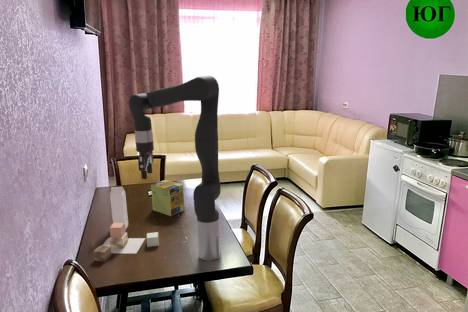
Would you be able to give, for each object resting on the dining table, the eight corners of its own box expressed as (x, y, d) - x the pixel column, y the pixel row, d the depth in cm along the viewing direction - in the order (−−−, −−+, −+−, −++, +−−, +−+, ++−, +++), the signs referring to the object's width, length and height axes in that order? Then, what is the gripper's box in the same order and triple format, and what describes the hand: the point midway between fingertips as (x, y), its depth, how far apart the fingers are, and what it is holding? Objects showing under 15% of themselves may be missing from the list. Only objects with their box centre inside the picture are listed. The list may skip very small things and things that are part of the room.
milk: (116, 225, 188) (112, 185, 183) (128, 225, 189) (124, 184, 183) (113, 231, 182) (108, 189, 177) (126, 230, 183) (121, 188, 177)
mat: (145, 239, 173) (145, 238, 173) (136, 254, 159) (136, 253, 159) (108, 239, 174) (108, 238, 174) (95, 254, 160) (95, 253, 160)
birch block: (128, 242, 169) (127, 232, 168) (123, 248, 164) (122, 238, 162) (115, 242, 170) (114, 232, 168) (110, 248, 164) (109, 238, 163)
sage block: (158, 241, 171) (157, 232, 169) (158, 247, 166) (158, 236, 165) (147, 243, 170) (146, 233, 168) (147, 248, 165) (146, 238, 164)
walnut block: (111, 257, 158) (110, 246, 157) (105, 263, 153) (104, 252, 152) (101, 255, 159) (100, 245, 158) (94, 261, 155) (93, 251, 153)
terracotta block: (125, 232, 168) (124, 222, 166) (121, 238, 163) (120, 227, 162) (114, 232, 168) (113, 222, 167) (110, 237, 163) (109, 227, 162)
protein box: (171, 216, 198) (169, 189, 194) (152, 210, 207) (150, 184, 203) (185, 210, 206) (183, 184, 202) (166, 204, 215) (164, 179, 211)
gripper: (148, 143, 152) (151, 181, 156) (157, 136, 165) (159, 171, 169) (130, 143, 152) (133, 181, 156) (140, 136, 166) (143, 171, 170)
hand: (147, 175), depth 163 cm, fingers open, 8 cm apart
